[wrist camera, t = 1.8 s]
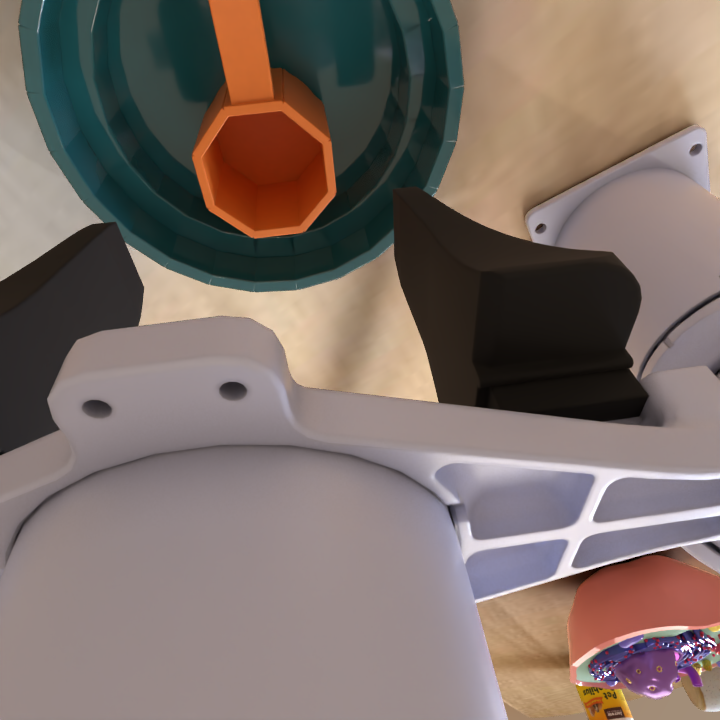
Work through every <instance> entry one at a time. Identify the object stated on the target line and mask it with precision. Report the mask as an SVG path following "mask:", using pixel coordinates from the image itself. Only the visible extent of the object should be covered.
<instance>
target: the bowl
mask: <svg viewBox="0 0 720 720" xmlns="http://www.w3.org/2000/svg"><path fill="white" fill-rule="evenodd" d="M259 3H260V9H261V15H262V21H263V27H264V33H265V39H266V45H267V51H268V57H269V63H270V68H282V69H285V70H286V71H287V72H288V73H290V74H291V75H293V76H295V77H296V78H298V79H299V80H300V81H302V82H303V83H304V84H305V85H306V86H307V87H308V88H309V89H310V90H311V91H312V93H313V94H314V95H315V96H316V97H317V98H318V99H320V100H321V101H322V103H323V104H324V109H325V114H326V118H327V123H328V128H329V133H330V138H331V144H332V153H333V163H334V173H335V182H336V193H335V194H336V195H335V197H334V198H333V199H332V200H331V201H330V202H329V204H328V205H327V206H326V207H325V208H324V210H323V211H322V212H321V213H320V214H319V216H318V217H317V218H316V219H315V220H314V222H313V223H312V224H311V225H310V226H309V227H308V229H307V230H306V231H305V232H304V231H303V233H297V234H288V235H280V236H271V237H263V238H254V237H253V238H251V237H250V236H248V235H247V234H245V233H243V232H242V231H240V230H239V229H237V228H236V227H234V226H232V225H231V224H229V223H228V222H226V221H225V220H223V219H221V218H220V217H218V216H217V215H215V214H214V213H212V212H210V211H209V210H208V208H206V205H205V201H204V198H203V194H202V191H201V188H200V184H199V181H198V177H197V174H196V170H195V167H194V163H193V160H192V152H193V149H194V146H195V143H196V140H197V136H198V133H199V130H200V127H201V124H202V121H203V118H204V115H205V113H206V111H207V110H208V108H209V107H210V105H211V103H212V102H213V100H214V98H215V96H216V94H217V92H218V91H219V89H220V88H221V87H222V85H223V84H224V83H225V81H226V78H225V74H224V69H223V65H222V60H221V56H220V51H219V47H218V42H217V38H216V33H215V29H214V24H213V20H212V15H211V11H210V6H209V2H208V0H22V1H21V7H20V14H19V20H18V23H19V24H20V25H19V26H18V29H19V37H20V45H21V53H22V61H23V70H24V78H25V86H26V91H27V95H28V98H29V101H30V103H31V106H32V108H33V111H34V114H35V116H36V119H37V121H38V124H39V127H40V129H41V132H42V135H43V137H44V140H45V142H46V145H47V148H48V150H49V151H50V154H51V155H52V157H53V158H54V160H55V161H56V163H57V164H58V166H59V167H60V169H61V170H62V172H63V173H64V175H65V176H66V178H67V179H68V181H69V182H70V184H71V185H72V187H73V188H74V190H75V191H76V193H77V194H78V196H79V197H80V199H81V200H82V201H83V202H84V204H85V205H86V206H87V207H88V208H90V209H91V210H92V211H93V212H94V213H95V214H96V215H97V216H98V217H99V218H100V219H101V220H102V221H103V222H104V223H108V222H116V223H117V225H118V228H119V230H120V232H121V235H122V237H123V239H124V242H126V243H127V244H129V245H130V246H132V247H133V248H135V249H136V250H138V251H140V252H141V253H143V254H144V255H146V256H147V257H149V258H151V259H152V260H154V261H155V262H157V263H158V264H160V265H161V266H163V267H166V268H167V269H169V270H172V271H174V272H177V273H180V274H182V275H185V276H187V277H190V278H193V279H195V280H198V281H200V282H203V283H206V284H208V285H209V284H210V285H213V286H219V287H225V288H231V289H237V290H244V291H250V292H254V291H255V292H270V291H290V290H297V289H298V290H300V289H304V288H307V287H311V286H314V285H318V284H322V283H325V282H329V281H333V280H336V279H339V278H341V277H343V276H345V275H347V274H349V273H351V272H352V271H354V270H356V269H358V268H360V267H362V266H364V265H365V264H367V263H369V262H371V261H373V260H375V259H376V258H378V257H379V256H380V255H381V254H382V253H384V252H385V251H386V250H387V249H388V248H389V247H390V246H391V245H393V244H394V219H393V189H398V188H406V187H415V186H416V187H418V188H420V189H422V190H423V191H425V192H426V193H428V194H429V195H431V196H432V197H433V196H434V194H435V193H436V192H437V189H438V188H439V185H440V182H441V180H442V177H443V175H444V172H445V170H446V167H447V165H448V162H449V160H450V157H451V155H452V152H453V150H454V147H455V144H456V141H457V135H458V128H459V121H460V114H461V107H462V100H463V93H464V75H463V65H462V55H461V44H460V34H459V26H458V21H457V18H456V15H455V12H454V10H453V7H452V4H451V1H450V0H259Z"/></svg>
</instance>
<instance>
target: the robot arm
mask: <svg viewBox="0 0 720 720" xmlns="http://www.w3.org/2000/svg"><path fill="white" fill-rule="evenodd" d="M695 144H697V145H696V147H695V149H694V150H692V151H691V152H690V149H691V148H692V147H693V146H694V145H695ZM393 219H394V257H395V262H396V266H397V271H398V275H399V279H400V284H401V287H402V289H403V292H404V295H405V297H406V300H407V302H408V305H409V308H410V310H411V313H412V315H413V318H414V320H415V323H416V325H417V328H418V330H419V333H420V336H421V338H422V341H423V344H424V347H425V350H426V353H427V356H428V360H429V364H430V368H431V372H432V376H433V380H434V384H435V388H436V393H437V397H438V401H439V403H436V402H428V401H419V400H411V399H402V398H393V397H385V396H376V395H367V394H359V393H350V392H342V391H333V390H324V389H316V388H307V387H303V386H301V385H299V384H297V383H296V382H295V381H294V380H293V378H292V376H291V374H290V371H289V368H288V364H287V359H286V355H285V351H284V348H283V346H282V345H281V343H280V341H279V340H278V338H277V337H276V335H275V333H274V332H273V330H271V329H269V328H267V327H265V326H263V325H262V324H260V323H258V322H256V321H254V320H252V319H250V318H242V317H229V316H216V317H208V318H200V319H192V320H184V321H176V322H168V323H160V324H152V325H144V326H138V325H139V321H140V318H141V311H142V304H143V293H144V286H143V284H142V282H141V279H140V277H139V275H138V272H137V270H136V267H135V265H134V263H133V260H132V258H131V256H130V253H129V251H128V249H127V246H126V244H125V242H124V239H123V237H122V235H121V232H120V230H119V228H118V225H117V223H116V222H108V223H99V224H92V225H89V226H87V227H85V228H83V229H81V230H80V231H78V232H76V233H75V234H73V235H72V236H70V237H69V238H67V239H66V240H64V241H63V242H61V243H60V244H58V245H57V246H55V247H54V248H52V249H51V250H49V251H48V252H46V253H45V254H44V255H42V256H41V257H39V258H38V259H36V260H35V261H33V262H31V263H30V264H28V265H27V266H25V267H23V268H22V269H20V270H19V271H17V272H15V273H14V274H12V275H11V276H9V277H8V278H6V279H4V280H2V281H1V282H0V720H508V718H507V715H506V711H505V707H504V704H503V700H502V696H501V693H500V689H499V685H498V682H497V678H496V675H495V671H494V667H493V664H492V660H491V657H490V653H489V649H488V646H487V642H486V638H485V635H484V631H483V628H482V624H481V620H480V617H479V613H478V610H477V606H476V603H479V602H482V601H485V600H489V599H492V598H496V597H499V596H502V595H506V594H509V593H513V592H516V591H519V590H523V589H526V588H530V587H533V586H536V585H540V584H543V583H547V582H550V581H553V580H557V579H560V578H564V577H567V576H570V575H574V574H577V573H581V572H584V571H587V570H591V569H594V568H598V567H601V566H604V565H608V564H612V563H615V562H619V561H623V560H626V559H630V558H634V557H637V556H641V555H645V554H650V553H654V552H658V551H663V550H667V549H672V548H676V547H682V548H683V549H684V550H685V551H687V552H688V553H689V554H690V555H692V556H693V557H694V558H696V559H697V560H699V561H700V562H702V563H703V564H705V565H707V566H708V567H710V568H712V569H714V570H715V571H717V572H718V573H720V199H719V198H717V197H716V196H714V195H713V194H712V193H710V180H709V164H708V148H707V133H706V130H705V129H704V128H703V127H701V126H699V125H692V126H689V127H687V128H685V129H683V130H681V131H679V132H678V133H676V134H674V135H672V136H670V137H668V138H666V139H664V140H662V141H660V142H658V143H657V144H655V145H653V146H651V147H649V148H647V149H645V150H643V151H641V152H639V153H637V154H635V155H634V156H632V157H630V158H628V159H626V160H624V161H622V162H620V163H618V164H616V165H614V166H613V167H611V168H609V169H607V170H605V171H603V172H601V173H599V174H597V175H595V176H593V177H591V178H590V179H588V180H586V181H584V182H582V183H580V184H578V185H576V186H574V187H572V188H570V189H569V190H567V191H565V192H563V193H561V194H559V195H557V196H555V197H553V198H551V199H549V200H547V201H546V202H544V203H542V204H540V205H538V206H536V207H534V208H532V209H531V210H529V211H528V213H527V214H526V216H525V224H526V226H527V229H528V232H529V235H530V237H531V240H532V242H531V241H527V240H523V239H519V238H516V237H512V236H509V235H506V234H503V233H501V232H498V231H496V230H493V229H490V228H488V227H485V226H483V225H481V224H479V223H477V222H475V221H473V220H471V219H469V218H467V217H465V216H463V215H461V214H460V213H458V212H456V211H454V210H453V209H451V208H450V207H448V206H446V205H445V204H443V203H442V202H440V201H438V200H437V199H435V198H434V197H432V196H431V195H429V194H428V193H426V192H425V191H423V190H422V189H420V188H418V187H416V186H415V187H406V188H398V189H393ZM539 224H543V226H542V227H541V228H540V229H538V230H535V229H536V227H537V226H538V225H539Z"/></svg>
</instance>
